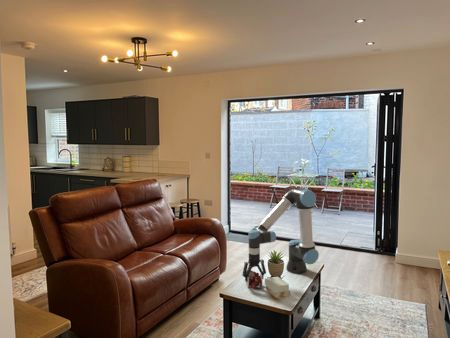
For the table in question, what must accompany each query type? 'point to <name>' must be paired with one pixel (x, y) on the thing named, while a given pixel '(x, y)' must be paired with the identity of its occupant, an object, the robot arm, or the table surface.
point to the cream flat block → (276, 284)
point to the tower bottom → (278, 295)
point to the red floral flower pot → (254, 280)
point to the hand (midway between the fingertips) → (254, 284)
